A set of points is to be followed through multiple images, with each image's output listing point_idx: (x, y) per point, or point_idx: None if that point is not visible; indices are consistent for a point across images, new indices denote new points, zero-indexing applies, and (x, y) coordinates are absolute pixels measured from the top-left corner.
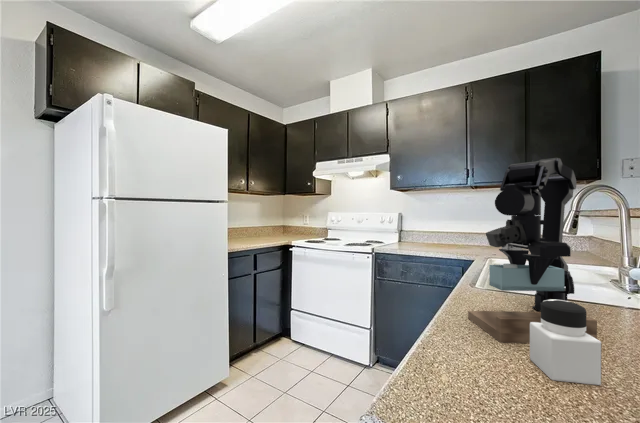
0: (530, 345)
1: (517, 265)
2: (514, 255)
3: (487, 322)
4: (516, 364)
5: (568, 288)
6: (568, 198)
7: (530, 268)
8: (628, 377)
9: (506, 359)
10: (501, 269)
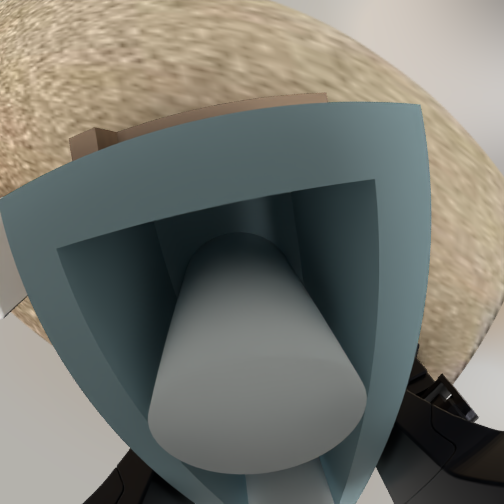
0: None
1: (211, 469)
2: (444, 499)
3: (191, 119)
4: (15, 154)
5: None
6: None
7: (126, 481)
8: (47, 337)
9: (27, 137)
10: (14, 193)
